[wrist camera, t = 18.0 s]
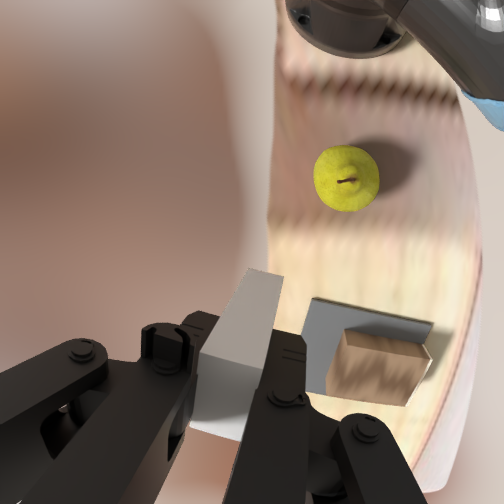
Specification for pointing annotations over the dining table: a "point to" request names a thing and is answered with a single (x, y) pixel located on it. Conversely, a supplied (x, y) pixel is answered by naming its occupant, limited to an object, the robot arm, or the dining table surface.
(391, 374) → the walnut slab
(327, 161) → the fruit
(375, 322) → the felt pad
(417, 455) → the dining table surface
